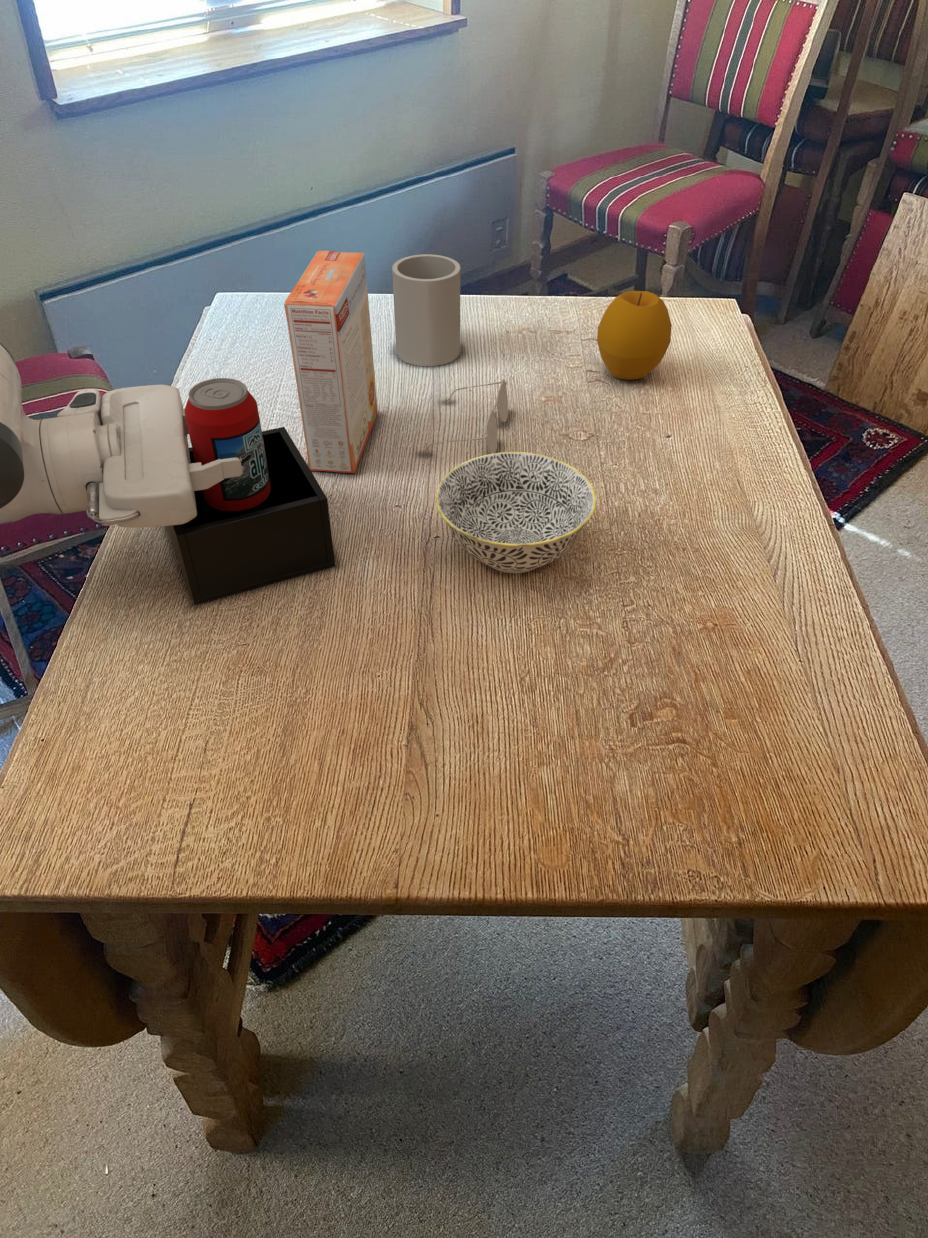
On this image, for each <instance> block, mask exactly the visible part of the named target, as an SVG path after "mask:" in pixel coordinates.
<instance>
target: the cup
mask: <svg viewBox="0 0 928 1238" xmlns="http://www.w3.org/2000/svg"><path fill="white" fill-rule="evenodd" d="M391 267H392V268H391V271H392V272H391V273H392V293H393V295H392V296H393V313H394V315H393V316H394V335H395V336H394V337H395V353H396V356H397V358H399V359H400V360H401V361H402V362H403V363H407V364H409V365H412V366H418V367H438V366H442V365H446V364H449V363H452V362H454V361H456V360H457V359H458V357H459V356H460V354H461V264H460V263H459V262H458V261H456V260H455V259H453V258H451V257H449V256H445V255H440V254H430V253H428V254H427V253H425V254H413V255H409V256H405V257H402V258H400V259H398V260H396V261H395V262H394V263H393V264H392V266H391Z"/></svg>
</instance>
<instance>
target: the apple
mask: <svg viewBox="0 0 928 1238" xmlns="http://www.w3.org/2000/svg"><path fill="white" fill-rule="evenodd" d="M596 333H597V334H596V343H597V346H598V350H599V354H600V357H601V360H602V361H603V363H604V365H605V367H606V369H607V370H608V372H609V374H610V375H611V376H612V377H614V378H617V379H620V380H628V381H629V380H639V379H642V378H644V377H646V376H648V375H649V374H651V372H652V371H654V369H655V368H657V367H658V366H659V364H660V363H661V362H662V360H663V359H664V357H665V355H666V353H667V350H668V349H669V346H670V344H671V340H672V339H671V338H672V321H671V316H670V313H669V309H668V306H667V305H666V304H665V302H664V300H663V299H662V298H660V296H658V295H657V294H655V293H653V292H651V291H648V290H627V291H625V292H623V293H620V294H619V295H617V296H615V297H614V299H613V300H612V301H611V302H610V304H609V305H607V307H606V309H605V311H604V312H603V314H602V316H601V319H600V322H599V324H598V326H597V332H596Z"/></svg>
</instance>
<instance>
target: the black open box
mask: <svg viewBox="0 0 928 1238" xmlns="http://www.w3.org/2000/svg"><path fill="white" fill-rule="evenodd" d="M262 435H263V441H264V447H265V454H266V460H267V467H268V473H269V480H270V487H271V491H270V494H269V496H268V497H267V499H266V500H265V501H264V502H262V503H261V504H259V505H258V506H256V507H254V508H252V509H250V510H247V511H243V512H226V511H221V510H217V509H215V508H213V507H211V506H209V505H208V504H207V503H206V501H205V500H204V497H203V493H202V490H198V491H194V493H195V501H196V509H197V516H196V517H195V518H194V519H192V520H190V521H189V522H187V523H184V524H180V525H171V526H165V528H166V530H167V533H168V536H169V538H170V542H171V543H172V547H173V550H174V552H175V555H176V558H177V560H178V563H179V566H180V569H181V572H182V574H183V577H184V579H185V582H186V585H187V587H188V590H189V593H190V596H191V598H192V602H193V604H194V605H195V606H197V605H199V604H200V605H201V604H205V603H207V602H211V601H214V600H219V599H222V598H226V597H228V596H232V595H237V594H239V593H244V592H247V591H251V590H254V589H258V588H262V587H265V586H269V585H273V584H276V583H280V582H283V581H286V580H290V579H294V578H297V577H301V576H305V575H308V574H312V573H315V572H318V571H322V570H326V569H329V568H333V567H336V560H335V551H334V544H333V535H332V526H331V517H330V510H329V501H328V497H327V495H326V494H325V492H324V490H323V488H322V487H321V485H320V484H319V482H318V480H317V478H316V477H315V475H314V474H313V471H312V470H310V469H309V464H308V463H307V462H306V460H305V459H304V457H303V455H302V454H301V452H300V451H299V449H298V446H297V445H296V444H295V443H294V441H293V439H292V437H291V436H290V434H289V432H288V431H287V429H286V427H285V426H281V427H280V426H279V427H276V428H271V429H266V430H262ZM189 453H190V461H191V464H192V463H195V458H194V454H193V450H192V446H190V447H189Z"/></svg>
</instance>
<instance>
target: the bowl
mask: <svg viewBox="0 0 928 1238" xmlns="http://www.w3.org/2000/svg"><path fill="white" fill-rule="evenodd" d="M435 505H436V507H437V511H438V513H439V514H440V516H441V518H442V519H443V521H445V522H446V524H447V526H448V528H449V530H450V532H451V534H452V537H454V539H455V541H456V542H457V543H458V545H459V546H460V548H462V550H463V551H465V553H467V555H469V556H470V557H471V558H473V559H474V560H476V561H477V562H480V563H482V564H484V565H486V566H488V567H491V568H492V569H494V570H496V571H498V572H501V573H507V574H524V573H527V572H531V571H533V570H536V569H538V568H541V567H545V566H547V565H548V564H551V563H553V562H554V561H556V560H557V559H560V557H562V556H563V555H565V553H566V552H567V551H568V550H570V548H571V547H572V545H573V544H574V543H575V542H576V540H577V539H578V537H579V535H580V534H581V532H582V530H583V529H584V527H585V526H586V525H587V524H588V523H589V521H590V520H591V518H592V517H593V515H594V514H595V510H596V508H597V496H596V490H595V488H594V487H593V484H592V483H591V481H590V480H589V479H588V478H587V477H586V475H584V474H583V473H582V472H580V471H579V470H578V469H576V468H575V467H574V466H572V465H571V464H569V463H567V462H564V461H562V460H559V459H557V458H554V457H551V456H547V455H543V454H540V453H539V454H538V453H532V452H527V451H525V452H524V451H504V452H503V451H502V452H496V453H493V454H490V453H488V454H485V455H480V456H476V457H473V458H470V459H468V460H466V461H464V462H462V463H460V464H458V465H457V466H455V467H453V468H452V469H451V470H450V471H448V472H447V473H446V474H445V476H444V477H443V478H442V479H441V480H440V482H439V484H438V486H437V489H436V491H435Z"/></svg>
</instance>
